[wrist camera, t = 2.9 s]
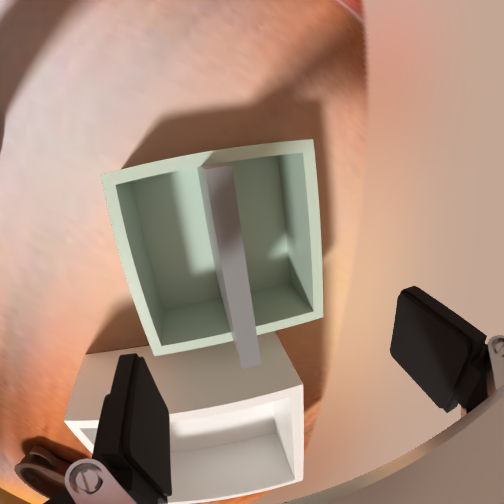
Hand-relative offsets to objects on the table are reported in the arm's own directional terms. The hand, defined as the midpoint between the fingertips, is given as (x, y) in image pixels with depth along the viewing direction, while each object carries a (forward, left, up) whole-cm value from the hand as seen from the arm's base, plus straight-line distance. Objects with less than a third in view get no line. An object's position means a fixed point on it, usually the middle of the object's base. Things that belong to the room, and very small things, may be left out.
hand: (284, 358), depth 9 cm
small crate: (0, -1, -16) cm, 16 cm away
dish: (+36, -37, -16) cm, 54 cm away
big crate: (+19, -7, -16) cm, 25 cm away
